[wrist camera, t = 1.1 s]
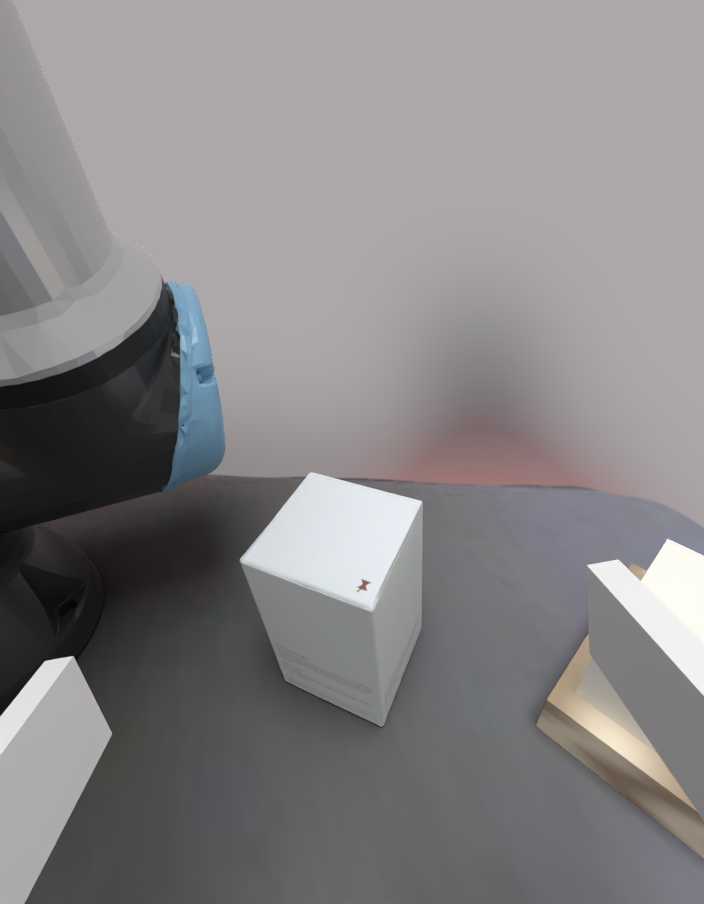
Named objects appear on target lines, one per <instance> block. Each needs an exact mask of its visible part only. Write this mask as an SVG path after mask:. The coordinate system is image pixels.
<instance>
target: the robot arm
mask: <svg viewBox="0 0 704 904" xmlns="http://www.w3.org/2000/svg"><path fill="white" fill-rule="evenodd" d="M213 373H214V367H213V362H212V354H211V349H210V343H209V339H208V334H207V329H206V325H205V321H204V317H203V313H202V309H201V306H200V302H199V299H198V297H197V294H196V292H195V290H194V289H193V287H191V286H190V285H188V284H185V283H176V282H172V281H169V282H167V283H165V284H164V282H163V279H162V276H161V273H160V270H159V268H158V266H157V263H156V262H155V260H154V259H153V257H152V256H151V255H150V253H149V252H148V251H147V250H146V249H144V248H143V247H142V246H140V245H139V244H137V243H136V242H134V241H132V240H130V239H128V238H126V237H124V236H121V235H119V234H117V233H115V232H113V231H110V230H109V229H108V227H107V225H106V222H105V220H104V217H103V215H102V212H101V210H100V208H99V206H98V203H97V201H96V198H95V196H94V193H93V191H92V189H91V186H90V184H89V181H88V179H87V177H86V174H85V172H84V169H83V167H82V165H81V162H80V160H79V157H78V155H77V153H76V150H75V148H74V146H73V143H72V141H71V138H70V136H69V134H68V131H67V129H66V126H65V124H64V121H63V119H62V117H61V115H60V112H59V109H58V107H57V105H56V102H55V100H54V97H53V95H52V93H51V90H50V88H49V85H48V83H47V81H46V78H45V76H44V74H43V71H42V69H41V66H40V64H39V62H38V59H37V57H36V54H35V52H34V50H33V47H32V45H31V42H30V40H29V38H28V35H27V33H26V31H25V28H24V26H23V23H22V21H21V19H20V16H19V14H18V11H17V9H16V7H15V4H14V2H13V0H0V904H25V902H26V900H27V898H28V896H29V894H30V892H31V890H32V888H33V886H34V884H35V882H36V880H37V878H38V877H39V875H40V873H41V871H42V869H43V867H44V865H45V863H46V861H47V859H48V857H49V855H50V853H51V851H52V849H53V848H54V846H55V844H56V842H57V840H58V838H59V836H60V834H61V832H62V830H63V828H64V826H65V824H66V822H67V820H68V819H69V817H70V815H71V813H72V811H73V809H74V807H75V805H76V803H77V801H78V799H79V797H80V795H81V793H82V791H83V790H84V788H85V786H86V784H87V782H88V780H89V778H90V776H91V774H92V772H93V770H94V768H95V766H96V764H97V762H98V761H99V759H100V757H101V755H102V753H103V751H104V749H105V747H106V745H107V743H108V741H109V739H110V737H111V735H112V732H111V730H110V728H109V726H108V724H107V722H106V720H105V718H104V716H103V714H102V712H101V710H100V708H99V706H98V704H97V702H96V700H95V698H94V696H93V694H92V692H91V690H90V688H89V686H88V684H87V682H86V680H85V678H84V676H83V674H82V672H81V670H80V668H79V666H78V664H77V662H76V660H75V658H76V657H77V656H78V655H79V653H80V652H81V650H82V649H83V648H84V646H85V645H86V643H87V641H88V640H89V638H90V636H91V634H92V633H93V631H94V629H95V627H96V624H97V622H98V619H99V617H100V613H101V610H102V606H103V599H104V587H103V581H102V578H101V576H100V574H99V572H98V570H97V569H96V567H95V566H94V564H93V563H92V561H91V560H90V559H89V557H88V556H87V554H86V553H85V552H84V551H83V550H82V549H81V548H80V547H78V546H77V545H76V544H74V543H73V542H71V541H69V540H67V539H66V538H64V537H62V536H60V535H59V534H57V533H55V532H54V531H52V530H50V529H48V528H47V527H45V526H43V525H41V524H40V523H44V522H48V521H51V520H55V519H59V518H63V517H66V516H70V515H74V514H78V513H81V512H85V511H89V510H93V509H96V508H100V507H104V506H108V505H111V504H115V503H119V502H123V501H127V500H130V499H134V498H138V497H142V496H145V495H149V494H153V493H157V492H160V491H161V492H165V491H169V490H170V489H172V488H173V487H174V486H175V485H178V484H180V483H183V482H186V481H189V480H192V479H195V478H198V477H201V476H204V475H207V474H209V473H211V472H212V471H214V470H215V469H216V468H217V467H218V466H219V464H220V463H221V461H222V459H223V456H224V452H225V434H224V424H223V416H222V409H221V403H220V397H219V392H218V386H217V382H216V378H215V376H214V374H213ZM587 591H588V625H589V654H590V655H591V657H592V658H593V660H594V661H595V662H596V664H597V665H598V667H599V668H600V670H601V671H602V673H603V674H604V676H605V677H606V679H607V680H608V681H609V683H610V684H611V686H612V687H613V689H614V690H615V692H616V693H617V695H618V696H619V698H620V699H621V700H622V702H623V703H624V705H625V706H626V708H627V709H628V711H629V712H630V714H631V715H632V717H633V718H634V719H635V721H636V722H637V724H638V725H639V727H640V728H641V730H642V731H643V733H644V734H645V736H646V737H647V738H648V740H649V741H650V743H651V744H652V746H653V747H654V749H655V750H656V752H657V753H658V755H659V756H660V757H661V759H662V760H663V762H664V763H665V765H666V766H667V768H668V769H669V771H670V772H671V774H672V775H673V776H674V778H675V779H676V781H677V782H678V784H679V785H680V787H681V788H682V790H683V791H684V793H685V794H686V795H687V797H688V798H689V800H690V801H691V803H692V804H693V806H694V807H695V809H696V810H697V812H698V813H699V814H700V816H701V817H702V819H703V820H704V642H703V641H702V640H701V639H700V638H699V637H698V636H697V635H696V634H695V633H694V632H692V631H691V630H690V629H689V628H688V627H687V626H686V625H685V624H684V623H683V622H682V621H681V620H680V619H679V618H678V617H677V616H676V615H675V614H674V613H673V612H672V611H671V610H670V609H669V608H668V607H667V606H666V605H665V604H664V603H663V602H662V601H661V600H659V599H658V598H657V597H656V596H655V595H654V594H653V593H652V592H651V591H650V590H649V589H648V588H647V587H646V586H645V585H644V584H643V583H642V582H641V581H640V580H639V579H638V578H637V577H636V576H635V575H634V574H633V573H632V572H631V571H630V570H629V569H627V568H626V567H625V566H624V565H623V564H622V563H621V562H620V561H619V560H613V561H607V562H602V563H596V564H590V565H587Z"/></svg>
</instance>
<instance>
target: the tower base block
mask: <svg viewBox="0 0 704 904" xmlns="http://www.w3.org/2000/svg"><path fill="white" fill-rule="evenodd" d="M629 570H630V571H631V572H632V573H633V574H634V575H635V576H636V577H637V578H638V579H639V580H640V581H641V580H642V578H643V577H644V575H645V574H646V572H647V571H646V570H644V569H642V568H640V567H638V566H636V565H634V564H631V566H630V568H629ZM591 659H592V657H591V655H590V654H589V633H588V635H587V636H586V638H585V639H584V641H583V643H582V644H581V646H580V647H579V649H578V651H577V652H576V654H575V655H574V657H573V659H572V660H571V662H570V663H569V665H568V667H567V668H566V670H565V671H564V673H563V675H562V676H561V678H560V679H559V681H558V683H557V684H556V686H555V687H554V689H553V691H552V692H551V694H550V695H549V697H548V699H547V700H546V703H545V705H544V707H543V710H542V712H541V715H540V717H539V719H538V722H537V724H536V727H538V728H539V729H540V730H541V731H543V732H544V733H545V734H547V735H548V736H549V737H550V738H552V739H553V740H554V741H555V742H557V743H558V744H559V745H560V746H562V747H563V748H564V749H566V750H567V751H568V752H569V753H571V754H572V755H573V756H574V757H576V758H577V759H578V760H579V761H581V762H582V763H583V764H585V765H586V766H587V767H588V768H590V769H591V770H592V771H593V772H595V773H596V774H597V775H598V776H600V777H601V778H602V779H603V780H605V781H606V782H607V783H609V784H610V785H611V786H612V787H614V788H615V789H616V790H617V791H619V792H620V793H621V794H622V795H624V796H625V797H626V798H628V799H629V800H630V801H631V802H633V803H634V804H635V805H636V806H638V807H639V808H640V809H641V810H643V811H644V812H645V813H647V814H648V815H649V816H650V817H652V818H653V819H654V820H655V821H657V822H658V823H659V824H660V825H662V826H663V827H664V828H665V829H667V830H668V831H669V832H671V833H672V834H673V835H674V836H676V837H677V838H678V839H679V840H681V841H682V842H683V843H684V844H686V845H687V846H688V847H690V848H691V849H692V850H693V851H695V852H696V853H697V854H698V855H700V856H701V857H702V858H703V859H704V820H703V819H702V817H701V816H700V814H699V813H698V812H697V810H696V809H695V807H694V806H693V804H692V803H691V801H690V800H689V798H688V797H687V795H686V794H685V793H684V791H683V790H682V788H681V787H680V785H679V784H678V782H677V781H676V779H675V778H674V776H673V775H672V774H671V772H670V771H669V769H668V768H667V766H666V765H665V763H664V762H663V760H662V759H661V757H660V756H659V755H658V754H657V753H656V752H655V751H653V750H652V749H650V748H649V747H648V746H646V745H645V744H644V743H642V742H641V741H640V740H638V739H637V738H635V737H634V736H633V735H631V734H630V733H629V732H627V731H626V730H625V729H623V728H622V727H620V726H619V725H618V724H616V723H615V722H614V721H612V720H611V719H610V718H608V717H607V716H605V715H604V714H603V713H601V712H600V711H599V710H597V709H596V708H594V707H593V706H592V705H590V704H589V703H588V702H586V701H585V700H584V699H582V698H581V697H579V696H578V695H577V694H575V691H576V689H577V687H578V685H579V683H580V681H581V679H582V677H583V675H584V673H585V671H586V669H587V667H588V665H589V663H590V661H591Z"/></svg>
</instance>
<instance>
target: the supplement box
mask: <svg viewBox="0 0 704 904" xmlns="http://www.w3.org/2000/svg"><path fill="white" fill-rule="evenodd" d="M422 515H423V505H422V501H419V500H415V499H412V498H408V497H403V496H400V495H396V494H392V493H388V492H384V491H380V490H377V489H373V488H369V487H365V486H362V485H358V484H354V483H350V482H347V481H343V480H339V479H335V478H332V477H328V476H324V475H320V474H316V473H313V472H310V473H309V474H308V476H307V477H306V478H305V479H304V481H303V482H302V483H301V484H300V486H299V487H298V488H297V489H296V491H295V492H294V493H293V494H292V496H291V497H290V498H289V499H288V501H287V502H286V503H285V505H284V506H283V507H282V508H281V510H280V511H279V512H278V513H277V515H276V516H275V517H274V519H273V520H272V521H271V522H270V524H269V525H268V526H267V527H266V528H265V530H264V531H263V532H262V533H261V534H260V535H259V537H258V538H257V539H256V540H255V542H254V543H253V544H252V545H251V546H250V548H249V549H248V550H247V551H246V552H245V554H244V555H243V556H242V557H241V558H240V563H241V566H242V568H243V571H244V574H245V576H246V579H247V581H248V584H249V587H250V589H251V592H252V595H253V597H254V600H255V602H256V605H257V608H258V610H259V613H260V616H261V618H262V621H263V624H264V626H265V629H266V631H267V634H268V637H269V640H270V642H271V645H272V647H273V650H274V652H275V655H276V658H277V660H278V663H279V666H280V668H281V671H282V674H283V676H284V679H285V681H287V682H289V683H291V684H293V685H295V686H297V687H299V688H301V689H303V690H305V691H307V692H309V693H311V694H313V695H315V696H317V697H320V698H322V699H324V700H326V701H328V702H330V703H332V704H334V705H336V706H339V707H341V708H343V709H345V710H347V711H349V712H351V713H353V714H355V715H358V716H360V717H362V718H364V719H366V720H368V721H370V722H372V723H375V724H377V725H378V726H380V727H383V726H384V723H385V721H386V718H387V715H388V713H389V710H390V708H391V705H392V703H393V700H394V697H395V695H396V692H397V690H398V687H399V685H400V682H401V679H402V677H403V674H404V672H405V669H406V667H407V664H408V662H409V659H410V657H411V654H412V651H413V649H414V646H415V644H416V641H417V639H418V636H419V633H420V631H421V627H422V519H423V518H422Z"/></svg>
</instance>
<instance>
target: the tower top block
mask: <svg viewBox="0 0 704 904" xmlns="http://www.w3.org/2000/svg"><path fill="white" fill-rule="evenodd" d="M641 582H642V583H643V584H644V585H645V586H646V587H647V588H648V589H649V590H650V591H651V592H652V593H653V594H654V595H655V596H656V597H657V598H658V599H659V600H661V601H662V602H663V603H664V604H665V605H666V606H667V607H668V608H669V609H670V610H671V611H672V612H673V613H674V614H675V615H676V616H677V617H678V618H679V619H680V620H681V621H682V622H683V623H684V624H685V625H686V626H687V627H688V628H689V629H690V630H691V631H692V632H694V633H695V634H696V635H697V636H698V637H699V638H700V639H701V640H702V641H703V642H704V556H703V555H701V554H699V553H697V552H694V551H692V550H690V549H688V548H686V547H684V546H682V545H680V544H678V543H675V542H673V541H671V540H669V539H667V541H666V542H665V544H664V546H663V547H662V549H661V550H660V552H659V553H658V555H657V557H656V558H655V560H654V561H653V563H652V564H651V566H650V568H649V569H648V571H647V572H646V574H645V575H644V577H643V578H642V580H641ZM575 694H577V695H578V696H579V697H581V698H582V699H584V700H585V701H586V702H588V703H589V704H590V705H592V706H593V707H594V708H596V709H597V710H599V711H600V712H601V713H603V714H604V715H605V716H607V717H608V718H610V719H611V720H612V721H614V722H615V723H616V724H618V725H619V726H620V727H622V728H623V729H625V730H626V731H627V732H629V733H630V734H631V735H633V736H634V737H635V738H637V739H638V740H640V741H641V742H642V743H644V744H645V745H646V746H648V747H649V748H650V749H652V750H653V751H655V752H656V750H655V749H654V747H653V746H652V744H651V743H650V741H649V740H648V738H647V737H646V736H645V734H644V733H643V731H642V730H641V728H640V727H639V725H638V724H637V722H636V721H635V719H634V718H633V717H632V715H631V714H630V712H629V711H628V709H627V708H626V706H625V705H624V703H623V702H622V700H621V699H620V698H619V696H618V695H617V693H616V692H615V690H614V689H613V687H612V686H611V684H610V683H609V681H608V680H607V679H606V677H605V676H604V674H603V673H602V671H601V670H600V668H599V667H598V665H597V664H596V662H595V661H594V660H593V658H592V659H591V661H590V663H589V665H588V667H587V669H586V671H585V673H584V675H583V677H582V679H581V681H580V683H579V685H578V687H577V689H576V691H575ZM656 753H657V752H656ZM657 754H658V753H657Z"/></svg>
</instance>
